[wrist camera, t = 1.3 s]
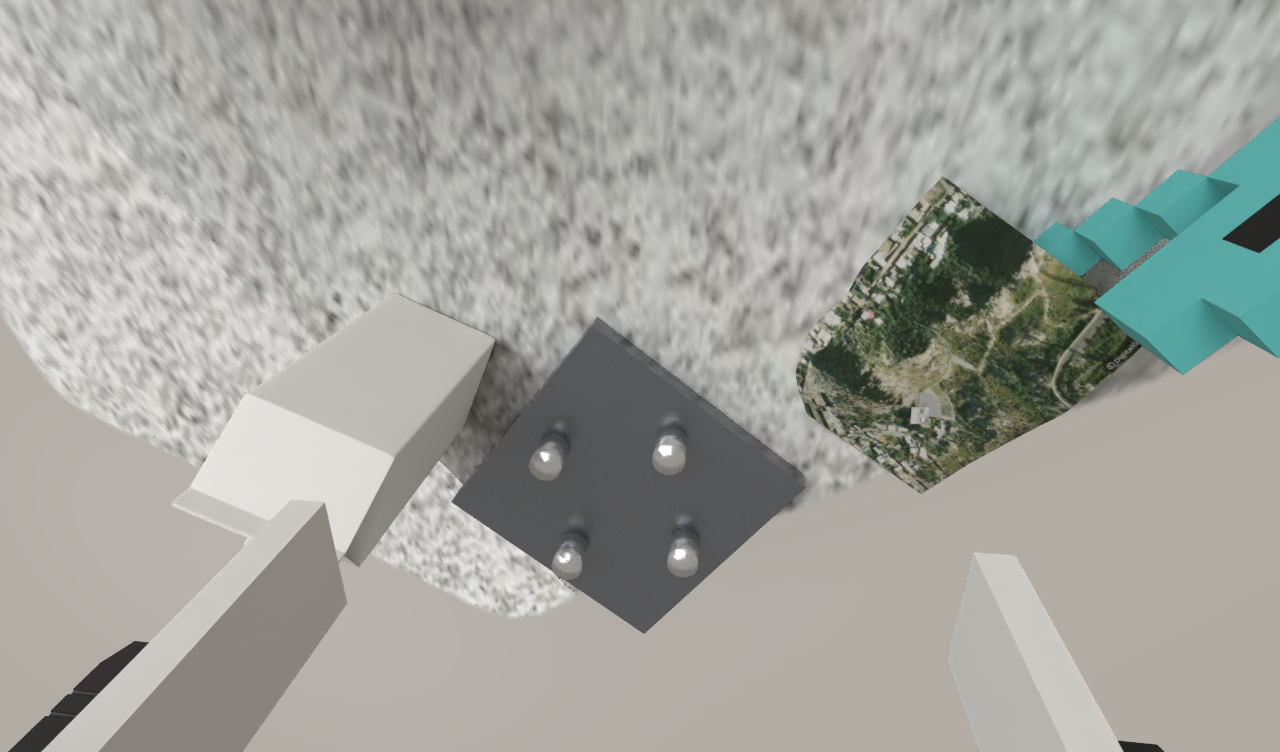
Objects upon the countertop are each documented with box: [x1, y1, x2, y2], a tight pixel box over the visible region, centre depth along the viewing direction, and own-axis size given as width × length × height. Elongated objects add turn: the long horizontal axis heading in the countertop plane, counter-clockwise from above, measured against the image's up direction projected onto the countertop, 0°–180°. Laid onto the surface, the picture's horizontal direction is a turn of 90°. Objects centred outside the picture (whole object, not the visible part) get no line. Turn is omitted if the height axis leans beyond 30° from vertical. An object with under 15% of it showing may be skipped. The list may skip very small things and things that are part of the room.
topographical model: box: [796, 177, 1142, 494], centre depth 41 cm, size 16×15×2 cm
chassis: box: [452, 318, 805, 633], centre depth 47 cm, size 17×17×4 cm
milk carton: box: [172, 294, 495, 567], centre depth 38 cm, size 7×7×19 cm
